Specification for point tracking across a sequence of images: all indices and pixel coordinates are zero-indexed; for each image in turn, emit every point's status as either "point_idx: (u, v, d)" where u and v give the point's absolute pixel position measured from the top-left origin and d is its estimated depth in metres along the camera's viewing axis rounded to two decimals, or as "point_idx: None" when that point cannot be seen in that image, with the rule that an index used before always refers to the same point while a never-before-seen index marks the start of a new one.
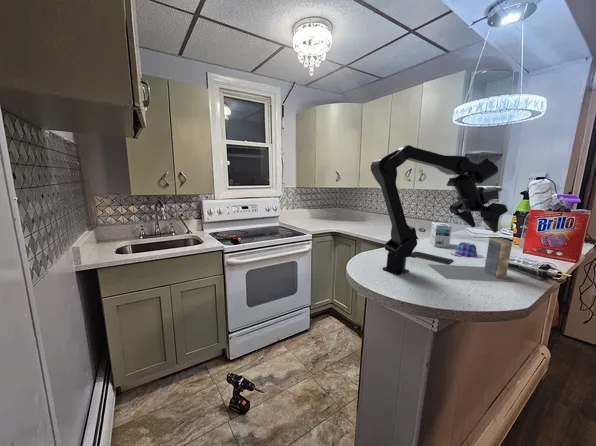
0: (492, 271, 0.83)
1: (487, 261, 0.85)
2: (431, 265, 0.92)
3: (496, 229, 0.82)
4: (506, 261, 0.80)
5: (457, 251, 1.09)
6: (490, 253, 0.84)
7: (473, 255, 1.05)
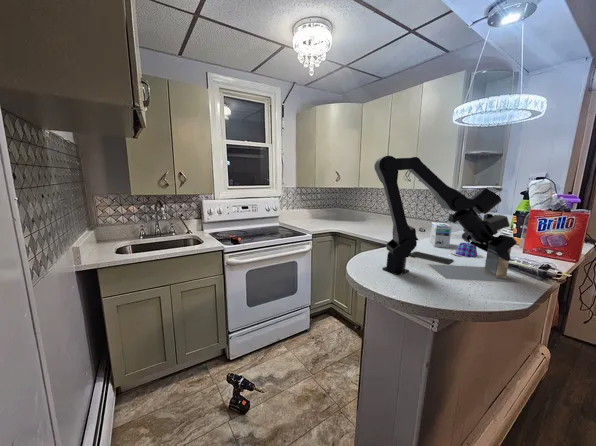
0: (492, 271, 0.83)
1: (487, 261, 0.85)
2: (431, 265, 0.92)
3: (508, 258, 0.79)
4: (506, 261, 0.80)
5: (457, 251, 1.09)
6: (490, 253, 0.84)
7: (473, 255, 1.05)
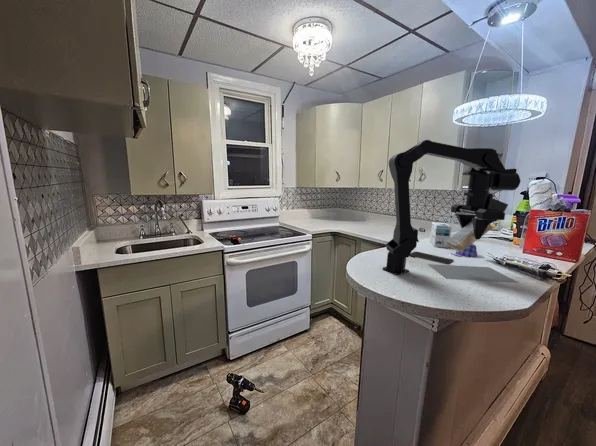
0: (455, 240, 0.82)
1: (456, 234, 0.85)
2: (431, 265, 0.92)
3: (479, 236, 0.79)
4: (474, 239, 0.80)
5: (457, 251, 1.09)
6: (465, 228, 0.83)
7: (473, 255, 1.05)
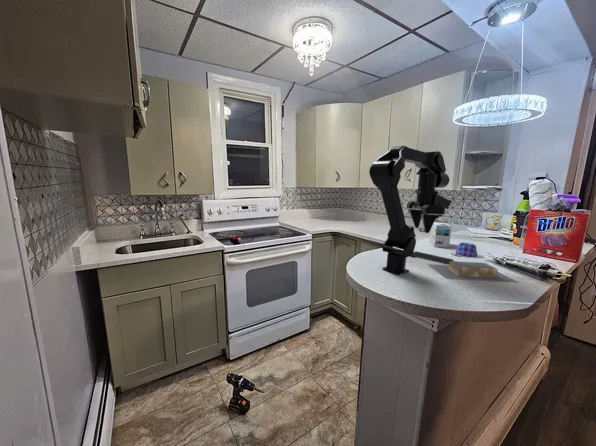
0: (461, 265, 0.83)
1: (463, 262, 0.86)
2: (431, 265, 0.92)
3: (428, 230, 0.87)
4: (476, 274, 0.82)
5: (458, 251, 1.08)
6: (474, 263, 0.85)
7: (474, 255, 1.05)
